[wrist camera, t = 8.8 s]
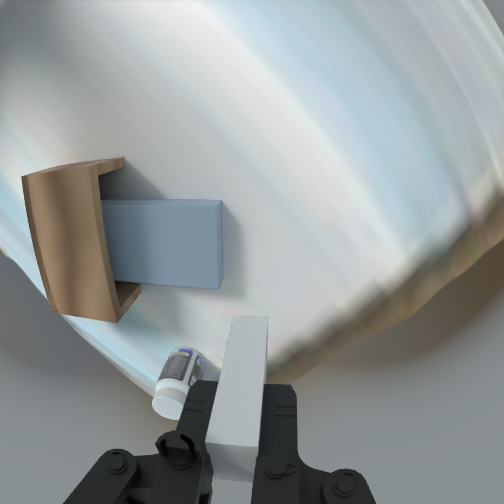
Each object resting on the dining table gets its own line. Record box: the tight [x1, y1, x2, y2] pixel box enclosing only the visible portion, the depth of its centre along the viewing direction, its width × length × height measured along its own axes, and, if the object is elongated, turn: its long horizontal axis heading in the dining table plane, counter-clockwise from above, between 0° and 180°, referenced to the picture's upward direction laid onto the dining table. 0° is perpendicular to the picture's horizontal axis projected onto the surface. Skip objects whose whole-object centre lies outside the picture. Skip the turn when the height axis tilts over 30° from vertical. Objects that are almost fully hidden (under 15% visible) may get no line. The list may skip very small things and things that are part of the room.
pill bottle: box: [152, 347, 205, 420], centre depth 33 cm, size 5×5×8 cm
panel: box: [101, 199, 223, 289], centre depth 30 cm, size 15×8×3 cm, turn 89°
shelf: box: [21, 157, 141, 323], centre depth 28 cm, size 9×15×6 cm, turn 0°
